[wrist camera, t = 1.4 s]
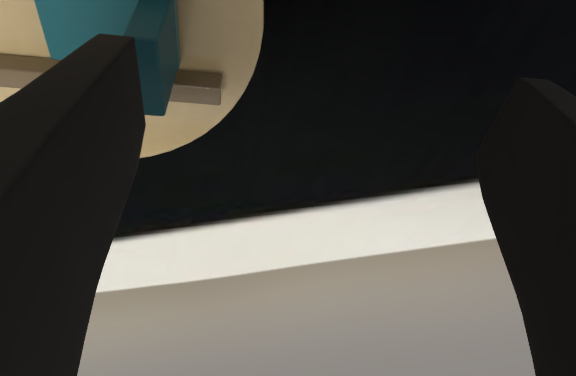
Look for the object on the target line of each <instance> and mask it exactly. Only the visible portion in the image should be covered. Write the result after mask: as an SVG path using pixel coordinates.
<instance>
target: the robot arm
mask: <svg viewBox="0 0 576 376" xmlns="http://www.w3.org/2000/svg"><path fill="white" fill-rule="evenodd" d="M145 127H146V123H145V115H144V107H143V100H142V92H141V84H140V76H139V69H138V61H137V53H136V45H135V38H134V37H130V36H120V35H111V34H101V33H99V34H98V35H96V36H94V37H93V38H91V39H90V40H88V41H87V42H85V43H84V44H83V45H81V46H80V47H79V48H77V49H76V50H74V51H73V52H72V53H70V54H69V55H68V56H66V57H65V58H64V59H62V60H61V61H59V62H58V63H57V64H55V65H54V66H53V67H51V68H50V69H48V70H47V71H46V72H44V73H43V74H41V75H40V76H39V77H37V78H36V79H34V80H33V81H32V82H30V83H29V84H27V85H26V86H25V87H23V88H22V89H20V90H19V91H17V92H16V93H14V94H13V95H11V96H9V97H8V98H6V99H5V100H3V101H2V102H0V376H77V373H78V368H79V364H80V359H81V354H82V349H83V345H84V340H85V335H86V331H87V326H88V323H89V318H90V314H91V310H92V305H93V301H94V297H95V293H96V289H97V285H98V282H99V279H100V275H101V272H102V269H103V266H104V263H105V260H106V257H107V254H108V252H109V249H110V246H111V243H112V240H113V237H114V235H115V232H116V229H117V226H118V223H119V220H120V218H121V215H122V212H123V209H124V206H125V203H126V201H127V198H128V195H129V192H130V189H131V186H132V183H133V180H134V177H135V174H136V171H137V167H138V163H139V158H140V153H141V148H142V143H143V138H144V133H145ZM475 158H476V165H477V171H478V178H479V183H480V188H481V192H482V197H483V200H484V204H485V207H486V210H487V213H488V216H489V218H490V221H491V224H492V227H493V230H494V233H495V236H496V239H497V241H498V244H499V247H500V250H501V253H502V256H503V258H504V261H505V264H506V267H507V270H508V272H509V275H510V278H511V281H512V284H513V286H514V289H515V292H516V295H517V299H518V302H519V305H520V309H521V312H522V315H523V320H524V324H525V328H526V333H527V337H528V342H529V346H530V350H531V355H532V359H533V364H534V369H535V374H536V376H576V97H575V96H574V95H572V94H571V93H569V92H568V91H566V90H565V89H563V88H562V87H560V86H558V85H557V84H555V83H553V82H551V81H549V80H543V79H533V78H524V77H518V79H517V80H516V82H515V84H514V86H513V87H512V89H511V91H510V93H509V95H508V96H507V98H506V100H505V102H504V103H503V105H502V107H501V109H500V111H499V112H498V114H497V116H496V118H495V119H494V121H493V123H492V125H491V127H490V128H489V130H488V132H487V134H486V136H485V137H484V139H483V141H482V143H481V144H480V146H479V148H478V150H477V152H476V153H475Z"/></svg>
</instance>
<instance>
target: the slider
mask: <svg viewBox="0 0 576 376" xmlns="http://www.w3.org/2000/svg"><path fill="white" fill-rule="evenodd" d="M34 2H35V5H36V9H37V12H38V16H39V19H40V23H41V26H42V29H43V33H44V36H45V40H46V43H47V47H48V50H49V53H50V57H51V59H55V60H62V59H64V58H65V57H66V56H68V55H69V54H70V53H72V52H73V51H74V50H76V49H77V48H79V47H80V46H81V45H83V44H84V43H85V42H87V41H88V40H90V39H91V38H93V37H94V36H96V35H98V34H99V33H101V34H111V35H120V36H130V37H134V38H135V45H136V53H137V61H138V69H139V76H140V84H141V92H142V100H143V107H144V115H151V116H165V114H166V110H167V106H168V103H169V99H170V95H171V91H172V88H173V84H174V80H175V76H176V73H177V70H179V67H180V63H181V61H180V45H179V29H178V13H177V0H34Z"/></svg>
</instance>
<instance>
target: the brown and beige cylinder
mask: <svg viewBox="0 0 576 376" xmlns="http://www.w3.org/2000/svg"><path fill="white" fill-rule="evenodd" d="M264 3H265V0H177V13H178V29H179V45H180V61H181V63H180V67H179V70H177V73H176V76H175V80H174V84H173V88H172V91H171V95H170V99H169V103H168V106H167V110H166V114H165V116H151V115H145V123H146V127H145V133H144V138H143V143H142V148H141V153H140V158H142V157H148V156H154V155H157V154H161V153H164V152H168V151H171V150H173V149H176V148H178V147H181V146H183V145H185V144H188V143H190V142H191V141H193V140H195V139H197V138H198V137H200V136H202V135H203V134H205V133H206V132H208V131H209V130H210V129H211V128H213V127H214V126H215V125H216V124H218V123H219V122H220V121H221V120H222V119H223V118H224V117H225V116H226V115H227V114H228V113H229V112H230V111H231V109H232V108H233V107H234V106H235V104H236V103H237V102H238V100H239V99H240V97H241V96H242V94H243V93H244V91H245V89H246V87H247V85H248V83H249V81H250V79H251V77H252V75H253V73H254V70H255V67H256V63H257V60H258V57H259V54H260V49H261V42H262V36H263V29H264ZM59 61H61V60H55V59H51V57H50V53H49V50H48V47H47V43H46V40H45V36H44V33H43V29H42V26H41V23H40V19H39V16H38V12H37V9H36V5H35V2H34V0H0V102H2V101H3V100H5V99H6V98H8V97H9V96H11V95H13V94H14V93H16V92H17V91H19V90H20V89H22V88H23V87H25V86H26V85H27V84H29V83H30V82H32V81H33V80H34V79H36V78H37V77H39V76H40V75H41V74H43V73H44V72H46V71H47V70H48V69H50V68H51V67H53V66H54V65H55V64H57V63H58V62H59Z"/></svg>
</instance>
